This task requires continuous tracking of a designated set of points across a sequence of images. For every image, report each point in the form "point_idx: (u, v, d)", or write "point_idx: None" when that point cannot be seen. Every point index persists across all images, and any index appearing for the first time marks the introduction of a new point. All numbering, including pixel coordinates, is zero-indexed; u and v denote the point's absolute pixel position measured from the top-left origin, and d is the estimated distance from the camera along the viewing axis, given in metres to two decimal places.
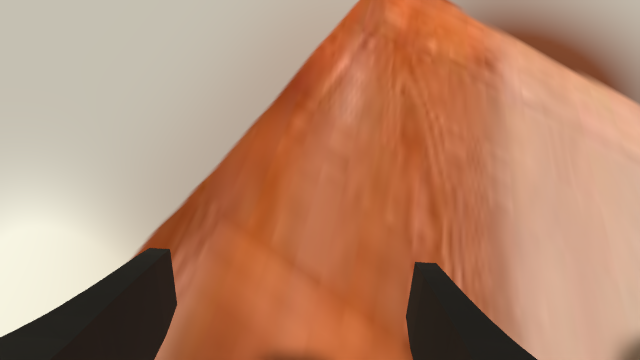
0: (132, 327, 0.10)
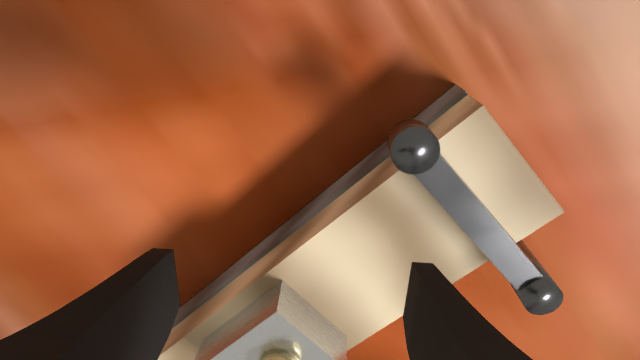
0: (136, 328, 0.10)
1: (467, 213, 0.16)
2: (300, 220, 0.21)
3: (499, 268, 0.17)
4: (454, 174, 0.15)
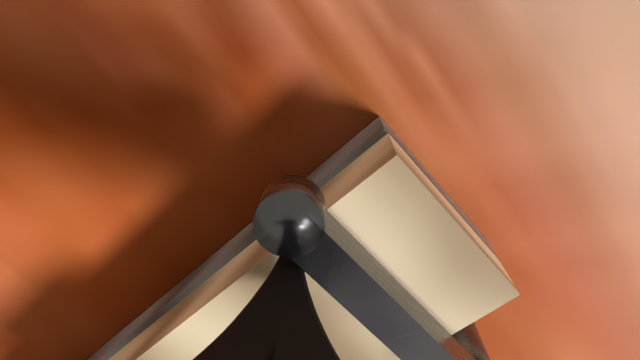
0: None
1: (373, 310, 0.11)
2: (185, 288, 0.16)
3: None
4: (349, 258, 0.11)
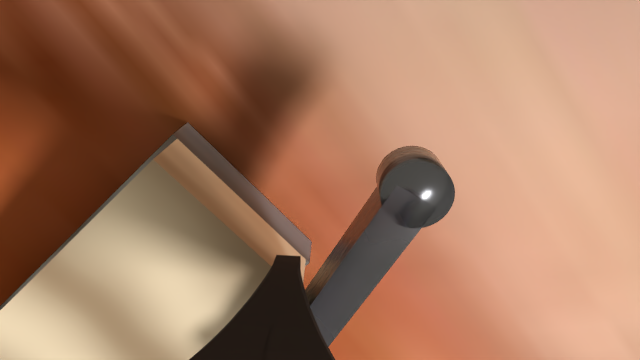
0: None
1: (343, 291, 0.11)
2: None
3: None
4: (396, 255, 0.11)
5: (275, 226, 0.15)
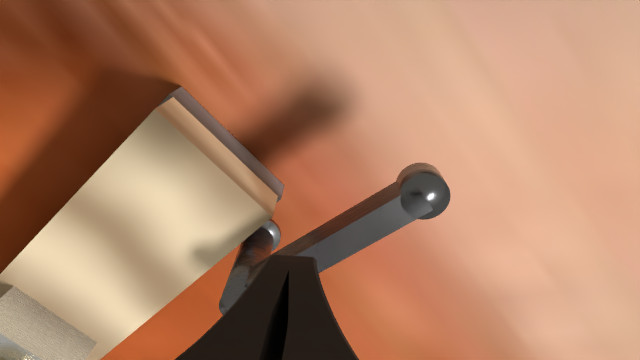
0: (278, 335, 0.10)
1: (346, 241, 0.16)
2: None
3: None
4: (392, 230, 0.16)
5: (253, 169, 0.19)
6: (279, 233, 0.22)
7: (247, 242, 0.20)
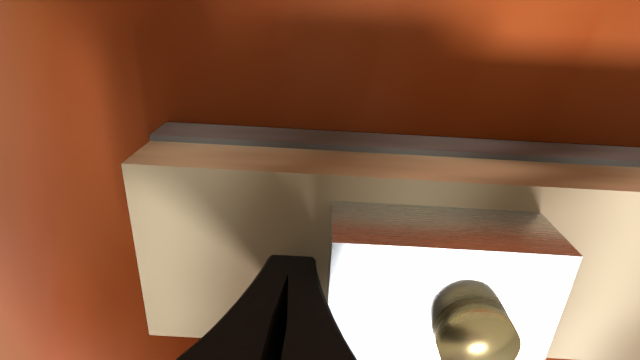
0: (279, 335, 0.10)
1: None
2: (578, 155, 0.13)
3: None
4: None
5: None
6: None
7: None
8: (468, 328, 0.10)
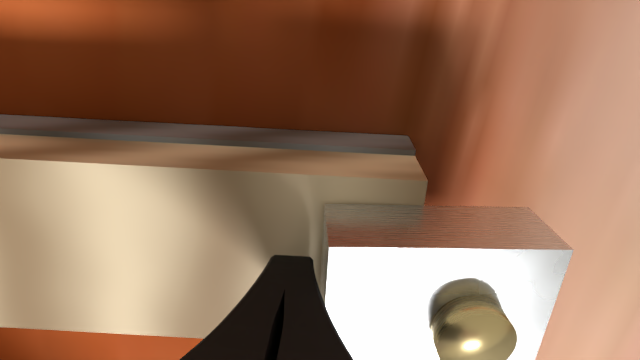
0: None
1: None
2: (111, 131, 0.14)
3: None
4: None
5: None
6: None
7: None
8: (466, 326, 0.10)
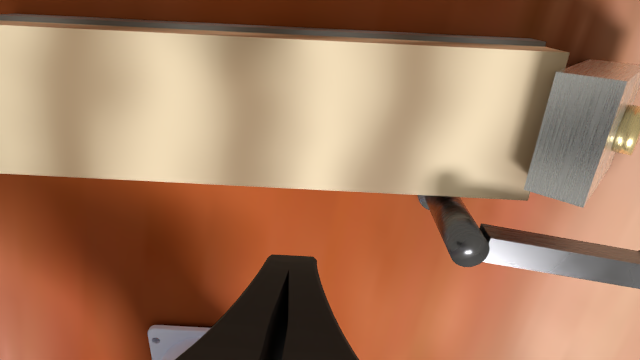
0: (278, 335, 0.10)
1: (589, 266, 0.17)
2: (312, 29, 0.18)
3: (525, 245, 0.17)
4: (620, 284, 0.18)
5: None
6: None
7: None
8: None
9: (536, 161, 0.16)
